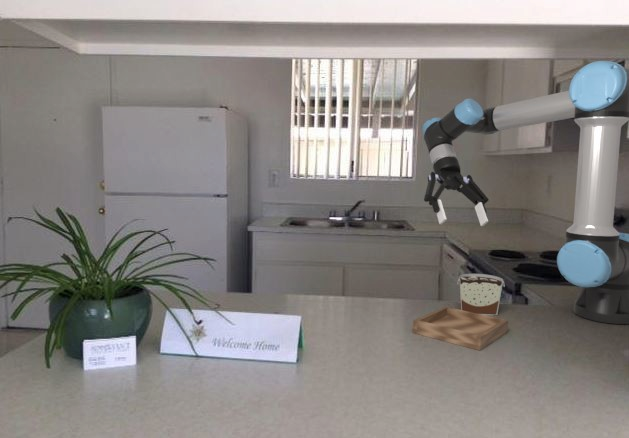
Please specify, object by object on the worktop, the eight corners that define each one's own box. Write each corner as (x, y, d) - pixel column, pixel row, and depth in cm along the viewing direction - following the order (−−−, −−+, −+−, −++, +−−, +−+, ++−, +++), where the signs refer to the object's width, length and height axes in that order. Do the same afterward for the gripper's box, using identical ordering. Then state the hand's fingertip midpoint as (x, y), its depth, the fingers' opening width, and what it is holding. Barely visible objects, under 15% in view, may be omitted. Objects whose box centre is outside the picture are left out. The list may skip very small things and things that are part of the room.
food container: (496, 309, 140) (499, 274, 139) (502, 315, 134) (505, 279, 133) (451, 307, 141) (453, 272, 140) (455, 313, 135) (457, 277, 134)
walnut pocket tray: (507, 332, 120) (508, 320, 120) (480, 350, 108) (480, 337, 107) (444, 317, 131) (445, 306, 130) (412, 332, 118) (413, 320, 118)
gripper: (473, 173, 159) (493, 231, 148) (402, 167, 151) (418, 227, 140) (486, 158, 153) (508, 217, 142) (413, 151, 145) (431, 213, 134)
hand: (464, 222), depth 141 cm, fingers open, 13 cm apart
